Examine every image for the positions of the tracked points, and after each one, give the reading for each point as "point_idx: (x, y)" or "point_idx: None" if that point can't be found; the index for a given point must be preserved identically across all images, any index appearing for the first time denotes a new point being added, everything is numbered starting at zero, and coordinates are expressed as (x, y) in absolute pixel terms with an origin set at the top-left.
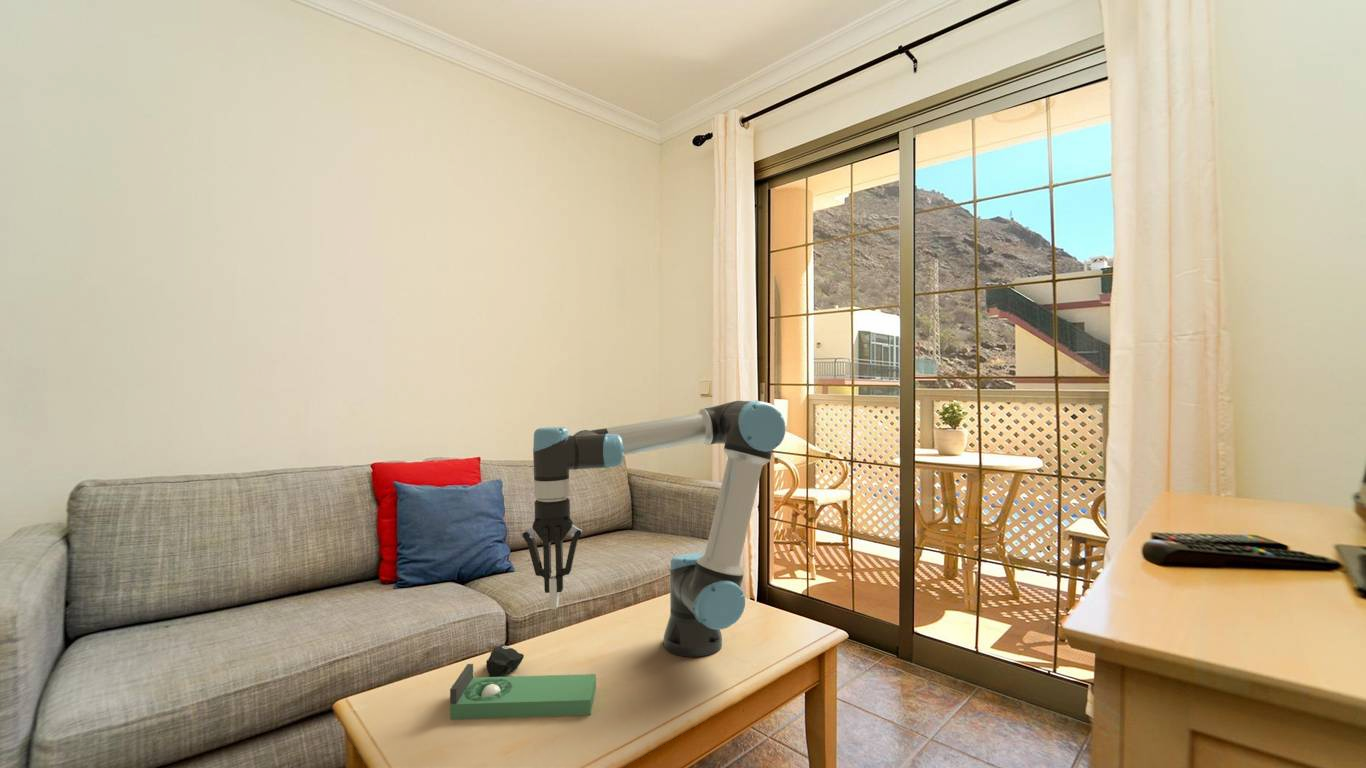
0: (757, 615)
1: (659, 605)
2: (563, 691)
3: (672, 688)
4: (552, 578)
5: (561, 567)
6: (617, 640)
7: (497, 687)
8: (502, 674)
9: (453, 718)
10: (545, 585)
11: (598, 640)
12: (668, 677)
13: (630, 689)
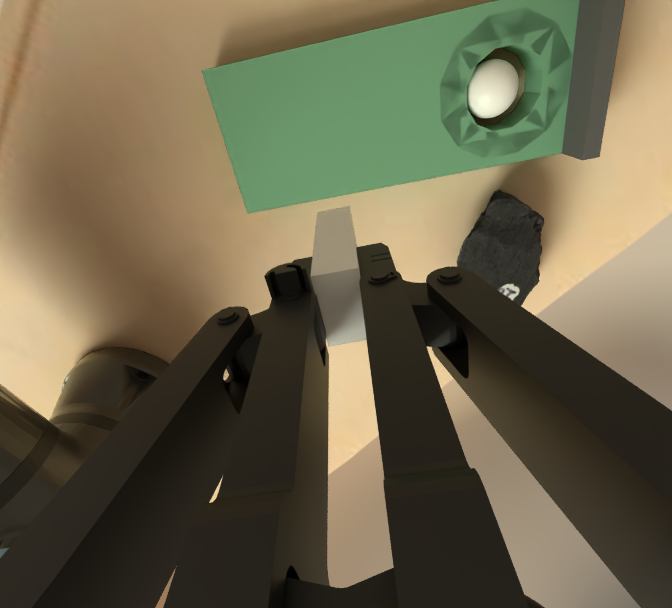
0: None
1: None
2: (292, 108)
3: (87, 223)
4: (339, 281)
5: (263, 332)
6: None
7: (479, 91)
8: (487, 205)
9: None
10: (385, 260)
11: None
12: (118, 267)
13: (174, 206)
